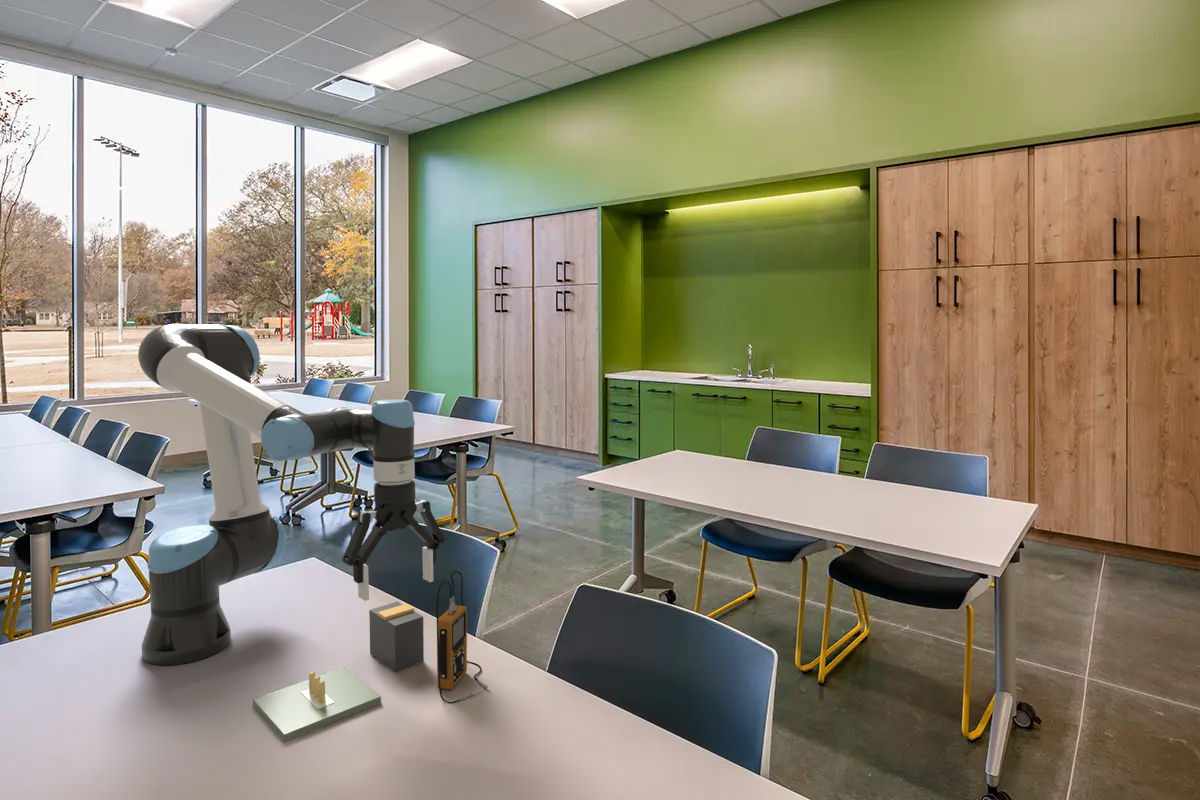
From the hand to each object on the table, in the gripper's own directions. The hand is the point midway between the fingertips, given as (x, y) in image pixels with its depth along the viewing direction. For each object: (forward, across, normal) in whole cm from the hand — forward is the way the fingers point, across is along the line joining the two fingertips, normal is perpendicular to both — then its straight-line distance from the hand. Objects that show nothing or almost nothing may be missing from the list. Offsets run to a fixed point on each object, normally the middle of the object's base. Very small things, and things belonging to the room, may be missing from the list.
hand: (397, 589), depth 130 cm
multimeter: (+14, +5, -18) cm, 23 cm away
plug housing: (+14, 0, 0) cm, 14 cm away
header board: (+14, -18, -6) cm, 24 cm away
